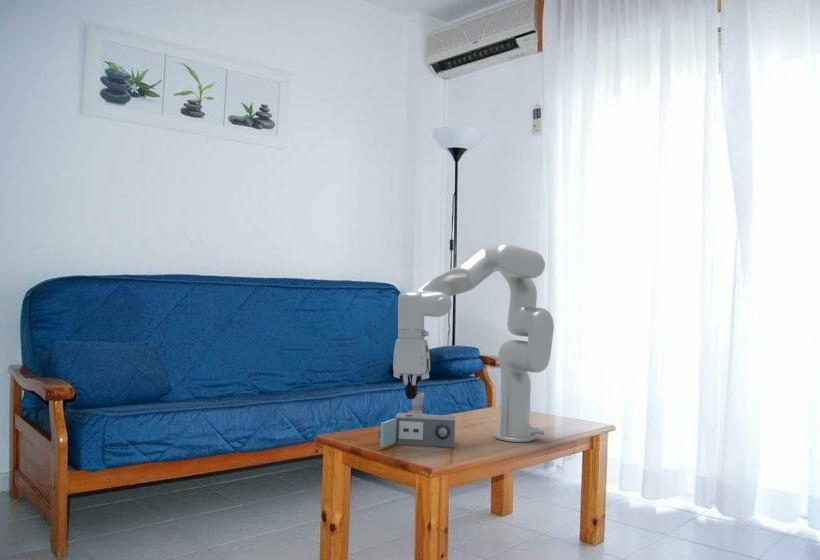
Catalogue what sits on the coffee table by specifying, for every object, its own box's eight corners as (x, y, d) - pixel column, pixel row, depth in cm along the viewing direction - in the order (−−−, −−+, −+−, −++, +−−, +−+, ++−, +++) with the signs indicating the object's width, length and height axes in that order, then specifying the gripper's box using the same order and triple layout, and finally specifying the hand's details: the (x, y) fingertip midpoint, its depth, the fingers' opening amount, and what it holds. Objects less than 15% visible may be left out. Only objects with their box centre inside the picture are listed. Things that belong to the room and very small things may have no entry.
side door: (383, 447, 184) (383, 423, 185) (377, 446, 185) (378, 422, 185) (395, 442, 192) (396, 419, 192) (390, 441, 192) (391, 418, 193)
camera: (423, 391, 225) (447, 398, 212) (422, 424, 225) (445, 434, 212) (402, 392, 221) (424, 399, 208) (400, 426, 221) (423, 436, 208)
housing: (454, 441, 200) (455, 413, 200) (453, 448, 191) (454, 419, 191) (396, 438, 201) (397, 410, 202) (393, 444, 192) (394, 415, 193)
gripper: (439, 334, 187) (439, 397, 187) (391, 333, 192) (391, 394, 192) (431, 336, 180) (431, 402, 180) (382, 335, 185) (382, 399, 185)
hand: (411, 398), depth 186 cm, fingers closed
